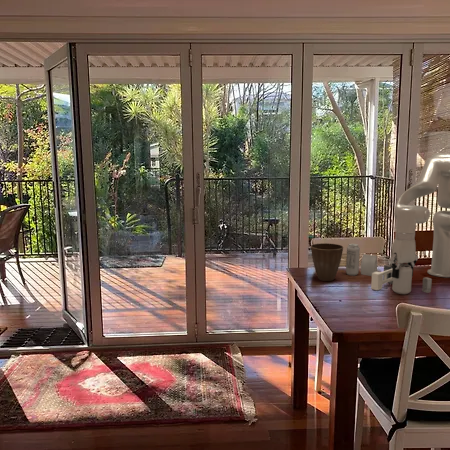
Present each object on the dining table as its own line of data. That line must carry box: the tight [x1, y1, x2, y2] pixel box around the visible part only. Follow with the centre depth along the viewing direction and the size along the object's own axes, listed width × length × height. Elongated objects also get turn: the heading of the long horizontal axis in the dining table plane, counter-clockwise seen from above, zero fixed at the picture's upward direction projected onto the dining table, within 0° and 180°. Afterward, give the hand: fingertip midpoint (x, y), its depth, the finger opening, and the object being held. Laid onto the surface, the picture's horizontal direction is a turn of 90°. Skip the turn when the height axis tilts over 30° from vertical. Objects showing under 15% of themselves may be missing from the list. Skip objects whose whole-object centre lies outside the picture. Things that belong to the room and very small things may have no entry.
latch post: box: [421, 276, 433, 294], centre depth 185 cm, size 2×2×6 cm
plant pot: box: [310, 242, 344, 282], centre depth 204 cm, size 15×15×16 cm
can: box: [391, 263, 413, 295], centre depth 185 cm, size 8×8×12 cm
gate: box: [370, 268, 393, 291], centre depth 193 cm, size 3×18×7 cm, turn 130°
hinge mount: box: [383, 264, 393, 285], centre depth 199 cm, size 4×7×8 cm, turn 25°
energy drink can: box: [345, 243, 361, 276], centre depth 212 cm, size 6×6×15 cm
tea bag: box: [360, 253, 378, 277], centre depth 212 cm, size 4×7×10 cm, turn 50°
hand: (402, 276), depth 185 cm, fingers closed on can, 7 cm apart
